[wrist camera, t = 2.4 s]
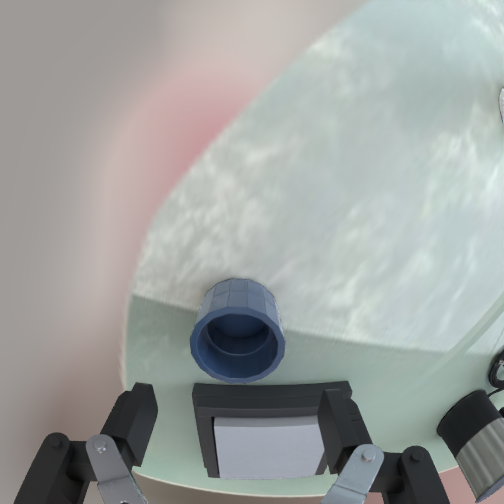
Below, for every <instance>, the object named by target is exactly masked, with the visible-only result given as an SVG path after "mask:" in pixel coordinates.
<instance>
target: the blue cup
mask: <svg viewBox="0 0 504 504" xmlns="http://www.w3.org/2000/svg"><path fill="white" fill-rule="evenodd" d="M190 348H191V354H192V356H193V358H194V359H195V361H196V363H197V364H198V366H199V367H200V368H201V369H202V370H203V371H205V372H206V373H207V374H209V375H210V376H211V377H213V378H216V379H219V380H222V381H225V382H228V383H249V382H253V381H256V380H260V379H262V378H264V377H266V376H267V375H268V374H270V373H271V372H273V371H274V370H275V369H276V368H277V366H278V365H279V363H280V362H281V360H282V358H283V357H284V351H285V337H284V332H283V328H282V323H281V319H280V314H279V309H278V306H277V304H276V301H275V299H274V296H273V295H272V294H271V293H270V292H269V291H268V290H267V289H266V288H265V287H264V286H263V285H261V284H259V283H256V282H254V281H251V280H249V279H248V280H247V279H232V280H231V279H229V280H226V281H224V282H221V283H218V284H216V285H215V286H214V287H213V288H212V289H211V290H209V291H208V292H207V293H206V295H205V297H204V299H203V302H202V304H201V307H200V309H199V312H198V315H197V318H196V321H195V324H194V327H193V330H192V333H191V336H190Z"/></svg>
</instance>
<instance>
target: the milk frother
mask: <svg viewBox="0 0 504 504" xmlns="http://www.w3.org/2000/svg"><path fill="white" fill-rule="evenodd" d="M500 365H503V366H504V351H503V352H502V353H501V354H500V355H499V356H498V357H497V359H496V360H495V362H494V363H493V365H492V367H491V369H490V372H489V382H490V384H491V385H492V386H493V387H494V388H499V389H497V390H495V391H493V392H492V393H490V394H488V395H487V394H486V392H485V391H483V390H481V391H477V392H474V393H472V394H470V395H469V396H467V397H466V398H464V399H463V400H461V401H460V402H459V403H458V404H457V405H456V406H454V407H453V408H452V409H451V410H450V411H449V413H448V414H447V415H446V416H445V417H444V419H443V420H442V421H441V423H440V425H439V427H438V431H437V433H438V435H439V436H440V437H442V439H443V440H444V442H445V443H446V445H447V446H448V448H449V449H450V451H451V452H452V454H453V456H454V458H455V459H456V461H457V463H458V465H459V467H460V469H461V471H462V473H463V474H464V476H465V478H466V480H467V482H468V484H469V486H470V488H471V490H472V492H473V493H474V495H475V498H476V502H475V503H478V502H481V501H482V500H484V499H486V498H487V497H489V496H490V495H492V494H493V493H494V492H496V491H497V490H499V489H500V488H501V487H502V486H504V407H503V408H501V409H500V410H499V411H498V410H497V409H496V408H495V406H494V405H493V404H492V402H491V401H490V400H489V397H490V396H491V395H492V394H494V393H497V392H499V391H502V390H504V380H503V381H501V380H498V379H497V377H496V374H497V371H498V368H499V367H500Z"/></svg>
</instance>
